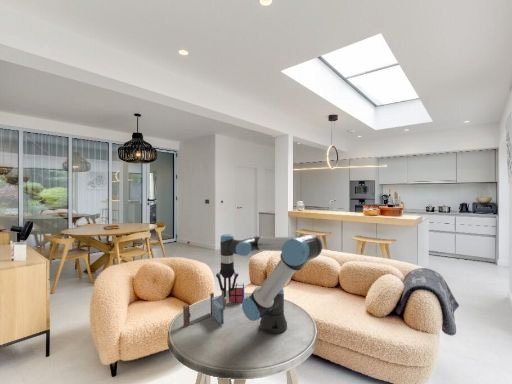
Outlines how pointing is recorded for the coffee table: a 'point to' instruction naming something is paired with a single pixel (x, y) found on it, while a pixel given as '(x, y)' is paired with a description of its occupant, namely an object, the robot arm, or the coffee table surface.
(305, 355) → the coffee table surface
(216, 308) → the gate
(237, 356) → the coffee table surface
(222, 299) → the fence panel
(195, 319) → the latch line mat
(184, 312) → the post
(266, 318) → the robot arm
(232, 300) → the puzzle cube
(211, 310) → the hinge post
